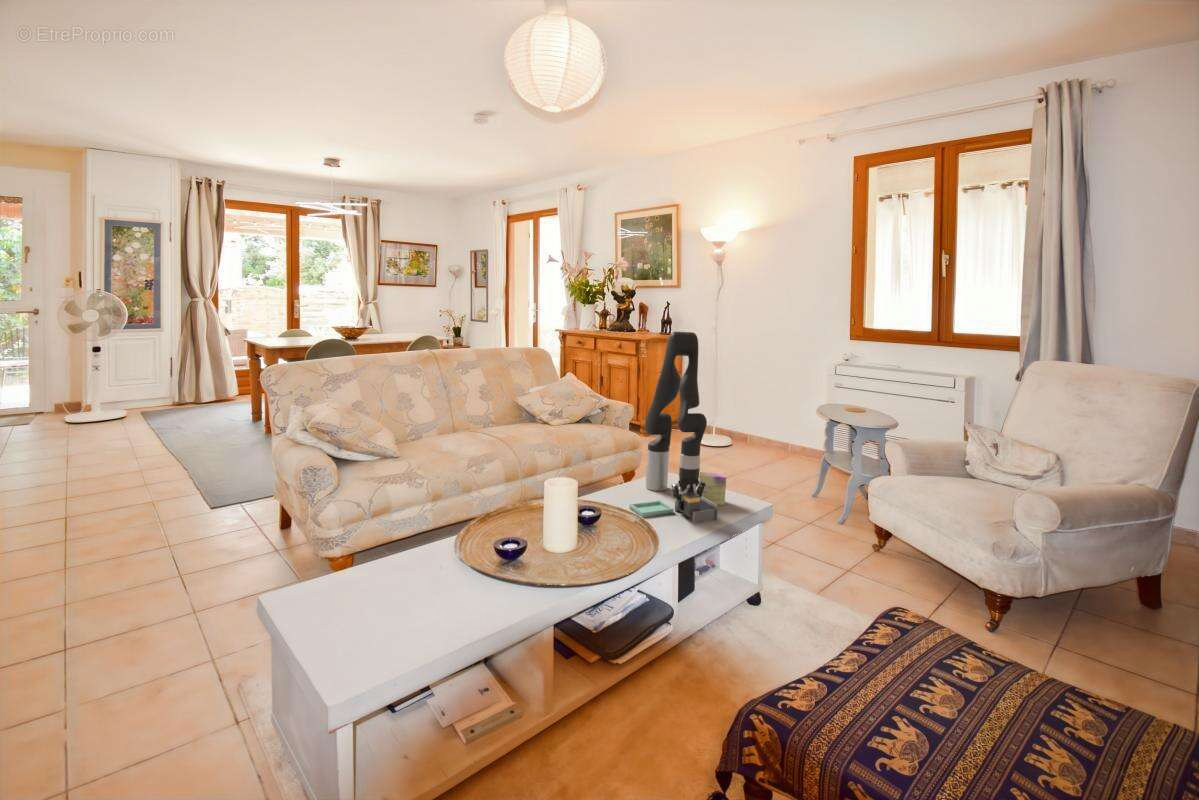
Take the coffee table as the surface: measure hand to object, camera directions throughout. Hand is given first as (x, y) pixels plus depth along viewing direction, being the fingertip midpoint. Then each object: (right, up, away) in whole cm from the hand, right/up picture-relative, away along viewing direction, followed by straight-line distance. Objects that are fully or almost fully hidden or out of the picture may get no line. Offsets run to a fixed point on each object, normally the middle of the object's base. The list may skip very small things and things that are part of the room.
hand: (687, 508), depth 225 cm
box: (+12, -1, +18) cm, 22 cm away
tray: (-13, -2, +5) cm, 14 cm away
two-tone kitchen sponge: (0, -1, 0) cm, 1 cm away
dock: (+3, -3, +2) cm, 5 cm away
